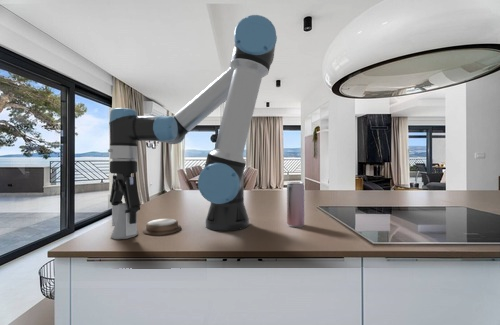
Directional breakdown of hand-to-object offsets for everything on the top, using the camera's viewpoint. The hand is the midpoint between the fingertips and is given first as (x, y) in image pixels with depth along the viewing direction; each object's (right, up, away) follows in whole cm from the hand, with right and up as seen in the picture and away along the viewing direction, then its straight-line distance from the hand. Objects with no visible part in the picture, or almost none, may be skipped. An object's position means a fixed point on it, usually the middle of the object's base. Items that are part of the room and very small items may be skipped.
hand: (123, 229), depth 78 cm
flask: (0, -2, 0) cm, 2 cm away
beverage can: (+55, -2, +11) cm, 56 cm away
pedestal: (+10, -2, +7) cm, 12 cm away
